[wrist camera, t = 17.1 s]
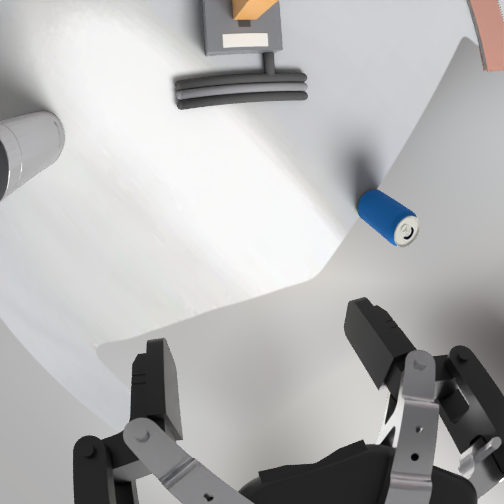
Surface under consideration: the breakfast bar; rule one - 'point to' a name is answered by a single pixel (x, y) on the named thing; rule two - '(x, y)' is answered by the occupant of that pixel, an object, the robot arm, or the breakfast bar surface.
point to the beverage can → (389, 218)
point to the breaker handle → (250, 8)
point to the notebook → (489, 32)
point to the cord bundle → (242, 87)
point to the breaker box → (240, 30)
